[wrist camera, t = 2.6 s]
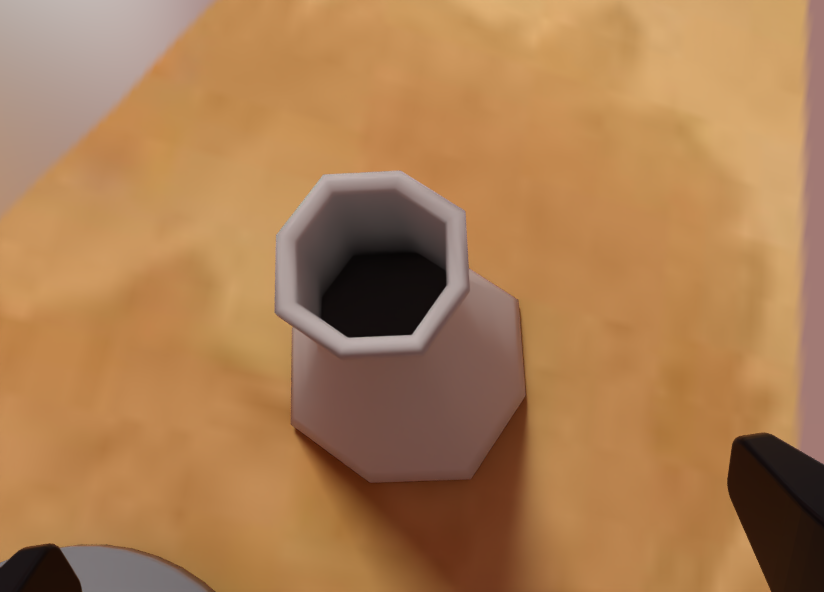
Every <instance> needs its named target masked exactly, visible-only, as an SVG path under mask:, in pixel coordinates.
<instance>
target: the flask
mask: <svg viewBox="0 0 824 592" xmlns="http://www.w3.org/2000/svg"><path fill="white" fill-rule="evenodd" d="M275 313H276V315H277V316H278V317H280V318H281V319H283V320H284V321H286V322H287V323H288V324H290V325H291V326H293V328H292V365H291V425H292V426H294V427H295V428H296V429H298V430H299V431H300V432H302V433H303V434H305V435H306V436H307V437H309V438H310V439H311V440H313V441H314V442H315V443H317V444H318V445H319V446H321V447H322V448H324V449H325V450H326V451H328V452H329V453H330V454H332V455H333V456H334V457H336V458H337V459H338V460H340V461H341V462H343V463H344V464H345V465H347V466H348V467H349V468H351V469H352V470H353V471H355V472H356V473H357V474H359V475H360V476H361V477H363V478H364V479H366V480H367V481H368V482H370V483H376V482H405V481H434V480H463V479H471V478H472V477H473V475H474V474H475V472H476V471H477V469H478V468H479V466H480V465H481V463H482V462H483V460H484V458H485V457H486V455H487V454H488V452H489V451H490V449H491V448H492V446H493V445H494V443H495V442H496V440H497V439H498V437H499V436H500V434H501V432H502V431H503V429H504V428H505V426H506V425H507V423H508V422H509V420H510V419H511V417H512V416H513V414H514V413H515V411H516V410H517V408H518V407H519V405H520V403H521V402H522V400H523V399H524V397H525V396H526V392H525V379H524V366H523V353H522V340H521V327H520V314H519V301H518V299H516V298H515V297H513V296H512V295H510V294H508V293H507V292H505V291H504V290H502V289H501V288H499V287H497V286H496V285H494V284H493V283H491V282H490V281H488V280H487V279H485V278H483V277H482V276H480V275H479V274H477V273H476V272H474V271H473V270H471V269H469V266H468V248H467V231H466V214H465V211H464V210H463V209H461V208H460V207H458V206H456V205H455V204H453V203H452V202H450V201H448V200H447V199H445V198H444V197H442V196H440V195H439V194H437V193H436V192H434V191H432V190H431V189H429V188H428V187H426V186H424V185H423V184H421V183H420V182H418V181H416V180H415V179H413V178H412V177H410V176H408V175H407V174H405V173H404V172H402V171H384V172H365V173H345V174H326V175H323V176H322V177H321V178H320V180H319V181H318V182H317V183H316V185H315V186H314V187H313V189H312V190H311V191H310V192H309V194H308V195H307V196H306V198H305V199H304V200H303V201H302V203H301V204H300V205H299V207H298V208H297V209H296V210H295V212H294V213H293V214H292V216H291V217H290V218H289V219H288V221H287V222H286V223H285V225H284V226H283V227H282V228H281V230H280V231H279V232H278V234H277V235H276V269H275Z"/></svg>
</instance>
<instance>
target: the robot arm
mask: <svg viewBox="0 0 824 592" xmlns="http://www.w3.org/2000/svg"><path fill="white" fill-rule="evenodd" d="M727 486H728V492H729V495H730V498H731V501H732V503H733V506H734V508H735V510H736V512H737V515H738V517H739V519H740V522H741V524H742V526H743V528H744V531H745V533H746V535H747V538H748V540H749V542H750V544H751V547H752V549H753V551H754V553H755V556H756V558H757V560H758V563H759V565H760V567H761V569H762V572H763V574H764V576H765V579H766V581H767V583H768V585H769V588H770V590H771V592H824V464H822V463H820V462H819V461H817V460H815V459H813V458H812V457H810V456H808V455H806V454H805V453H803V452H801V451H800V450H798V449H796V448H794V447H793V446H791V445H789V444H788V443H786V442H784V441H782V440H781V439H779V438H777V437H775V436H774V435H772V434H769V433H756V434H750V435H743V436H739V437H736V438H735V440H734V441H733V444H732V449H731V456H730V464H729V471H728V478H727ZM0 592H82V586H81V583H80V580H79V578H78V577H77V575H76V573H75V572H74V570H73V568H72V567H71V565H70V564H69V562H68V560H67V559H66V557H65V555H64V554H63V552H62V551H61V549H60V548H59V547H58V546H56V545H55V544H50V543H49V544H43V545H36V546H30V547H25V548H23V549H21V550H19V551H18V552H17V553H15V554H14V555H13V556H12V557H11V558H10V559H9V560H8V561H7V562H6V563H4V564H3V565H2V566H1V567H0Z"/></svg>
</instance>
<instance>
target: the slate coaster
mask: <svg viewBox="0 0 824 592" xmlns="http://www.w3.org/2000/svg"><path fill="white" fill-rule="evenodd" d="M60 549H61V551H62V552H63V554H64V555H65V557H66V559H67V560H68V562H69V564H70V565H71V567H72V568H73V570H74V572H75V573H76V575H77V577H78V578H79V580H80V583H81V586H82V592H215V591H214V590H213V589H212V588H211V587H209V586H208V585H207V584H206V583H205V582H203V581H202V580H200V579H199V578H197V577H196V576H194V575H193V574H191V573H190V572H188V571H187V570H185V569H184V568H182V567H180V566H178V565H176V564H174V563H172V562H170V561H167V560H165V559H163V558H161V557H159V556H156V555H153V554H149V553H146V552H143V551H139V550H136V549H133V548H126V547H119V546H112V545H74V546H67V547H60ZM8 560H9V559H8ZM8 560H6V561H4V562H1V563H0V567H1V566H2V565H3V564H4V563H6V562H7V561H8Z"/></svg>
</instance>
